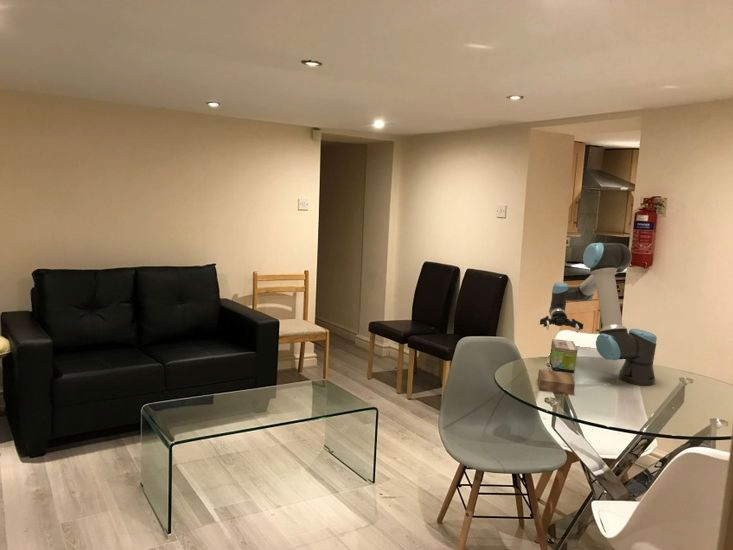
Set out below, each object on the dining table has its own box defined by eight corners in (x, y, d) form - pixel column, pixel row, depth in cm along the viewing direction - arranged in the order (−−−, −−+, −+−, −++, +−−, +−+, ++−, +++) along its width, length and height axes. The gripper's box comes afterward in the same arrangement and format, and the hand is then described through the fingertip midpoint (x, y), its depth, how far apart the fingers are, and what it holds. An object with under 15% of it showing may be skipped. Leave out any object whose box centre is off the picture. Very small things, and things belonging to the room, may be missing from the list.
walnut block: (570, 384, 264) (571, 373, 263) (573, 395, 250) (574, 384, 249) (537, 379, 267) (538, 369, 266) (539, 391, 253) (540, 380, 252)
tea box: (574, 381, 267) (578, 349, 264) (551, 378, 269) (554, 347, 266) (569, 370, 281) (573, 340, 278) (548, 367, 283) (551, 337, 280)
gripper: (583, 327, 299) (589, 339, 279) (532, 321, 305) (535, 333, 284) (585, 312, 298) (591, 324, 278) (534, 307, 303) (536, 318, 283)
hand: (563, 328), depth 281 cm, fingers open, 13 cm apart
